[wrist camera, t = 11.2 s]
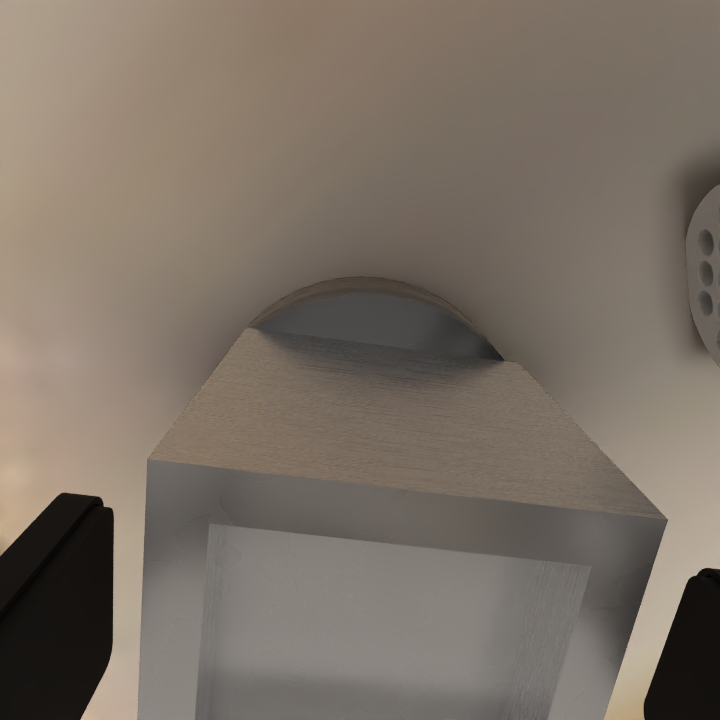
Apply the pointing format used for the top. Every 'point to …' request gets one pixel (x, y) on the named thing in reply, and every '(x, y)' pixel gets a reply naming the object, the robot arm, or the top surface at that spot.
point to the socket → (384, 543)
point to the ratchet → (376, 317)
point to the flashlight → (705, 270)
